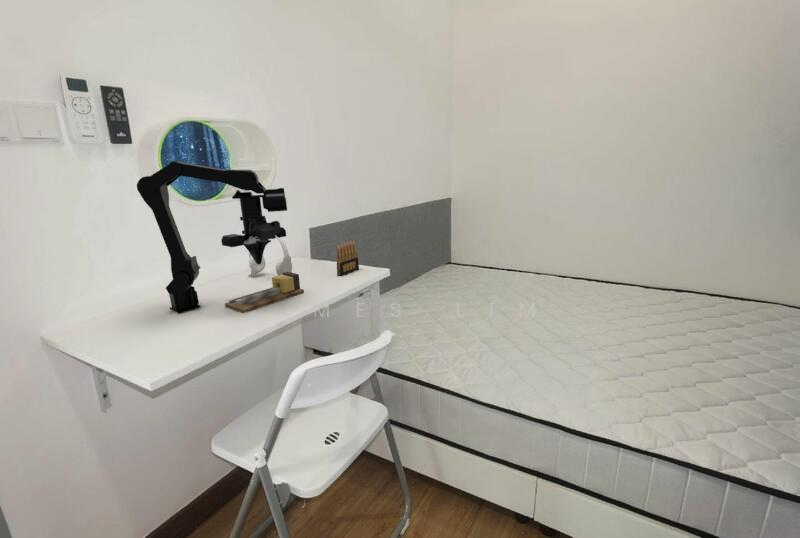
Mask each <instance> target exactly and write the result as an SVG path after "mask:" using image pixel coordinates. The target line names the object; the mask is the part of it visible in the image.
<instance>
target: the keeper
mask: <svg viewBox="0 0 800 538" xmlns="http://www.w3.org/2000/svg"><path fill="white" fill-rule="evenodd" d="M271 281H272V283H271V284H272V287H273V288H276V287H279V286H280V287H281V292H283V293H286V292H289V291H292V290H295V289H294V280H293V277H290V276H286V275H279V276H278V275H277V276H273V277H271Z"/></svg>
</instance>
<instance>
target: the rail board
mask: <svg viewBox="0 0 800 538" xmlns="http://www.w3.org/2000/svg"><path fill="white" fill-rule="evenodd" d="M283 275H286V276H290V277H293V280H294V289H295V290H292V291H289V292H286V293H283V292H281V287H280V286H279V287H276V288H273V286H272V287H269V288H266V289H263V290H260V291H257V292H253V293H250V294H247V295H246V294H245V295H243V296H241V297H237V298H233V299H230V300H228V302H225V303H224V306H225V307H226V308H227V309H228V308H229V309H231V310H233V311H236V312H239V313H241V314H246V313H248V312H251V311H254V310H258V309H260V308H264V307H265V306H270V305H272V304H275V303H278V302H281V301H283V300H288V299H289V298H293V297H295V296H299V295H302V294H305V290H304V289H303V288H301V286H300V284H301V283H300V275H299V273H297V272H296V273H295V272H292V273H291V272H284V273H283Z"/></svg>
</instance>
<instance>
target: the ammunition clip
mask: <svg viewBox="0 0 800 538" xmlns="http://www.w3.org/2000/svg"><path fill="white" fill-rule="evenodd" d="M357 251H358V250H357V243H356V241H355V239H353V240H350V241H347V242H346V241H344V243H340V244H339V243H338V244H337V247H336V254H337V255H336V260H337V261H336V276H337V277H344V276H346V275H348V274H351V273H353V272H357V271H359V270H360V266H359V257H358V252H357Z"/></svg>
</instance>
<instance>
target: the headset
mask: <svg viewBox="0 0 800 538" xmlns="http://www.w3.org/2000/svg"><path fill="white" fill-rule="evenodd" d="M275 239H277V240H278V242H279V244H280V246H281V248H282V251H283V255H284V256H283V257H282V258H279V259H278V260H277V262H276V264H275V272H276V274H277V276H279V275H283V273H284V272H291V273H293V272H292V270H293V263H292V257H291V256H290V254H289V250H288V248H287V245H286V243H285V240H284V237H280V238H278V237H277V236H275ZM248 259H249V260H248V265H249V268H250V270H251V273H250V274H248V275H247V278H248V277H249V278H252V277H254V276H256V275H257V274H259V273H262V272H263V270H265V268H266V258H265V257H264V255H263V256H262V261H261V264H257V263H256V262H255V260H254V259H253V257H252V255H251V254H250V252H249V251H248ZM251 276H252V277H251Z"/></svg>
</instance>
